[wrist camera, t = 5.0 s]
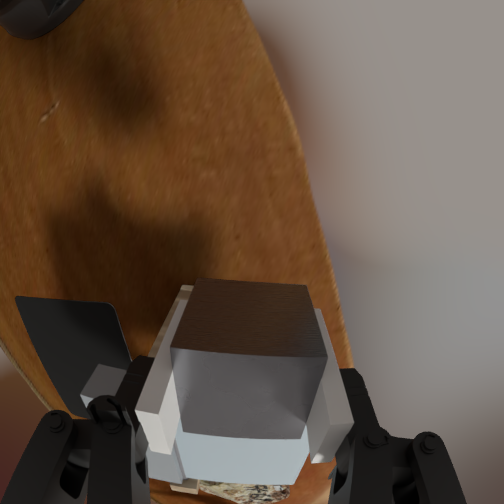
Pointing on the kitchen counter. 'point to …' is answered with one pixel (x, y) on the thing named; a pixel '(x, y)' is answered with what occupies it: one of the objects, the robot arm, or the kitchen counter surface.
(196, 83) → the kitchen counter surface
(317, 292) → the kitchen counter surface
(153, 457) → the trapdoor
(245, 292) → the block
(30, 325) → the tablet
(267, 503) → the stone
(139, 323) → the kitchen counter surface
